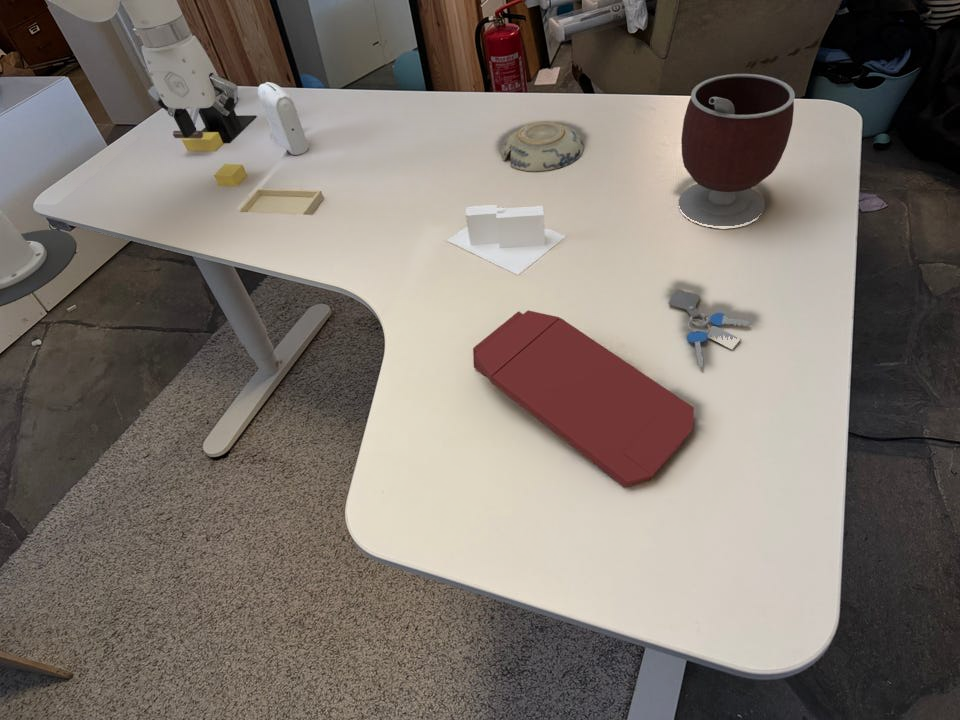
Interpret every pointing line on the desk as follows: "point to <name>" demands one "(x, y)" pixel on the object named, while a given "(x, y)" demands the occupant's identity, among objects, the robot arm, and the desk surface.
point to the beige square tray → (283, 201)
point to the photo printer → (282, 118)
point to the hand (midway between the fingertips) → (213, 134)
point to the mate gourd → (733, 145)
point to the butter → (204, 142)
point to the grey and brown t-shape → (194, 115)
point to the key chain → (718, 319)
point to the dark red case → (586, 395)
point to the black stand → (221, 122)
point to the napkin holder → (506, 235)
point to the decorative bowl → (542, 147)
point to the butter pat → (230, 175)
